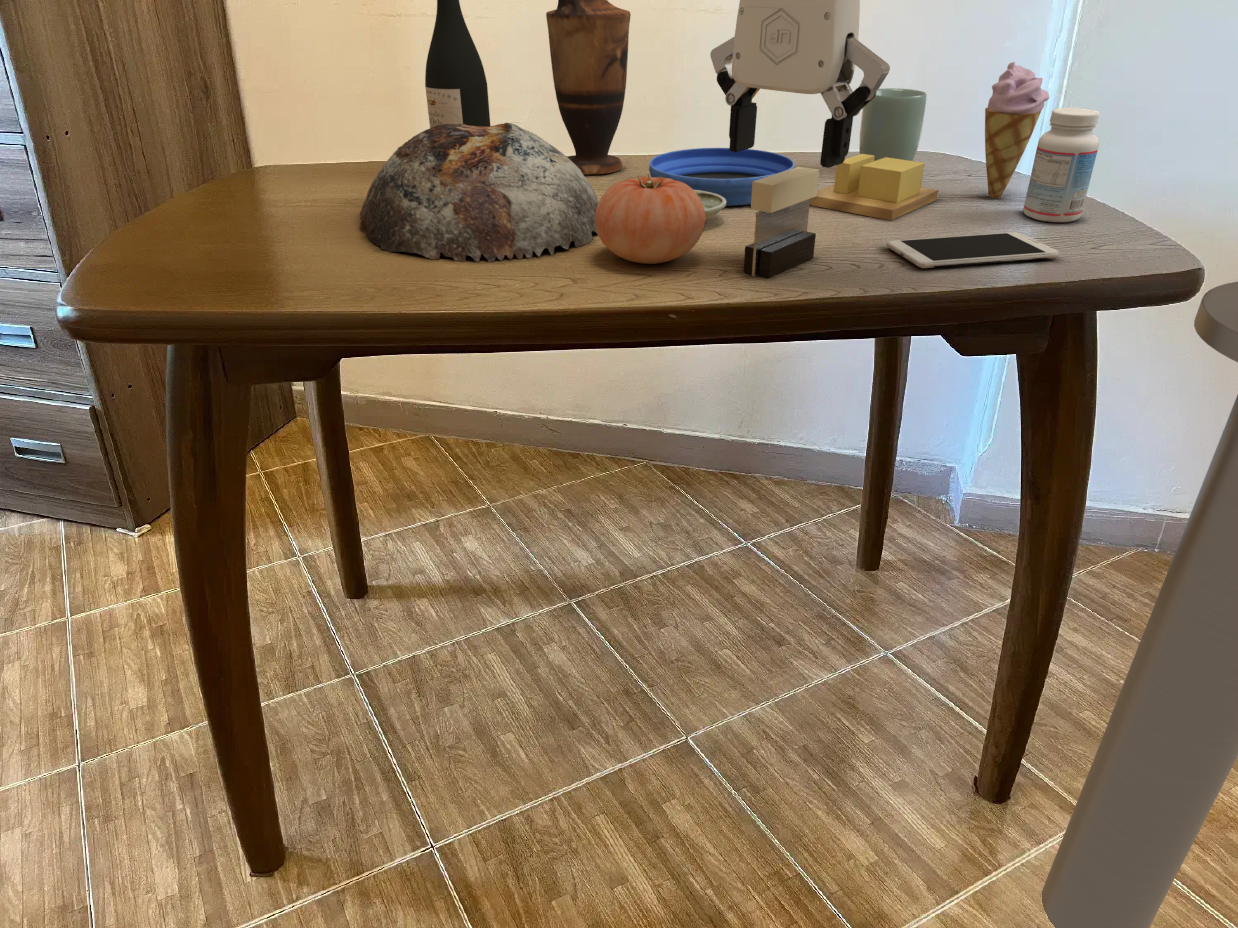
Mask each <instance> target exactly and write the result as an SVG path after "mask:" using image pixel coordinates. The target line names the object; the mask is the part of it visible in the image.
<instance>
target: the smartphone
mask: <svg viewBox="0 0 1238 928" xmlns="http://www.w3.org/2000/svg"><path fill="white" fill-rule="evenodd" d="M886 247H887V248H889V249H890V250H891V251H894V252H895V253H896V254H898V255H899V256H901V257H903V258H904V259H906V260H907V261H909V262H911V263H912V264H914V265H915V266H916V267H918V268H920V269H933V268H946V267H959V266H960V267H961V266H971V265H985V264H998V263H1011V262H1012V263H1013V262H1023V261H1024V262H1025V261H1037V260H1038V261H1039V260H1050V259H1051V260H1052V259H1057V258H1058V257H1059V256H1060V252H1059V250H1057V249H1055V248H1054V247H1053V248H1052V247H1050V246H1048V245H1046V244H1044V243H1042V242H1040V241H1038V240H1035V239H1034V238H1031V237H1030V236H1027V235H1025V234H1023V233H1021V232H1016V231H1013V232H1011V231H1009V232H998V233H985V234H984V233H983V234H982V233H981V234H970V235H969V234H968V235H956V236H944V237H943V236H940V237H926V238H913V239H911V238H910V239H899V240H898V239H897V240H889V241H887V243H886Z"/></svg>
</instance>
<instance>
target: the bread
mask: <svg viewBox="0 0 1238 928" xmlns="http://www.w3.org/2000/svg"><path fill="white" fill-rule="evenodd" d="M568 157H569V156H567V155H565V154H564V153H563V151H561V150H559V149H558V148H557V147H555V146H554V145H552V144H550V143H549V142H548V141H546V140H545V139H544V138H542V137H540V136H539V135H537V134H536V133H534V132H531V131H529V130H527V129H524V128H522V127H521V126H519V125H517V124H514V123H512V122H504V123H497V124H494V125H490V126H489V127H479V126H468V125H466V124H443V125H437V126H434V127H432V128H430V127H429V128H427V129H425V130H423V131H421V132H419V133H417V134H416V135H414V136H412V137H411V138H410V139H408V140H407V141H405V142H404V143H403V144H402V145H399V146H398V147H397V149H396V150H394V151H393V153H392V154H391V156H389V158H388V159H387V160H386V161H385V162H384V163H383V164H382V166H381V168H380V169H379V170H378V173H376V176H375V177H374V179H373V180H372V182H371V185H370V186H369V188H368V191H367V192H366V193H367V194H366V197H365V198H364V201H363V202H362V206H361V209H360V212H359V216H360V217H359V219H360V221H361V222H362V223H363V224H364V225H365V229H366V236H367V238H369V239H370V241H371V243H373V244H375V245H376V246H377V247H378V246H380V249H381V250H384V251H387V252H390V253H393V252H394V253H395V252H401V253H402V252H403V253H408V254H417V255H421V256H423V257H425V258H427V259H430V260H439V259H440V257H441V253H442V254H443V255H444V257H446V258H451V259H453V260H454V261H455V262H457V261H459V262H460V261H461V262H466V261H467V260H466V259H467V258H466V257H467V256H469V257H471V258H472V259H473V261H474V262H477V263H478V262H480V260H481V257H482V256H483V257H484V258H485V259H486V260H487V262H488V263H491V262H495V261H496V258H497V259H498V260H499V261H500V262H503V261H504V258H505V257H507V258H508V259H509V261H512V260H513V257H514V255H515V257H516V259H518V260H523V257H524V255H525V257H526V258H527V259H531V258H533V253H535V254H536V256H537V257H539V258H540V257H541V255H542V252H543V251H544V249H547V250H548V252H549V254H550V255H554V253H555V248H556V247H559V246H561V247H562V248H563V249H564V250H565V249H566V250H568V249H569V248H570V245H571V242H574V247H575V248H578V247H582V246H584V245H587V244H590V243H591V242H592V241H593V240H594V238H593V234H592V233H593V232H595V233H596V234H597V235H598V233H597V230H596V225H595V213H596V208H597V205H598V203H599V200H598V196H597V194H596V192H595V190H594V188H593V186H592V184H591V182H590V181H589V180H588V179H587V178H586V176H585V175H583V173H582V172H581V170H580V169H579V168H578V167H577V166H576V165H575V164H574V163H573V162H572V161H571V160H570V159H569V158H568Z"/></svg>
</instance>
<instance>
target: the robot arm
mask: <svg viewBox="0 0 1238 928" xmlns="http://www.w3.org/2000/svg"><path fill="white" fill-rule="evenodd" d="M860 11H861V0H739V4H738V10H737V16H736V21H735V22H736V23H735V31H734V36H732V37H731V38H730V39H728V40H726V41H724V42H723V43H720V44H719V45H718V46H716V47H714V48H713V49H712V50H711V51H710V55H709V56H710V59H711V62H712V66H713V69H714V72H715V73H716V83H717V85H718V87H720V89H721V91H722V92H723V94H724V95H725V98H724V101H725V103H726V104H727V106H730V113H729V114H730V115H729V127H728V129H729V130H728V138H729V147H728V148H730V151H732V152H738V151H742V150H746V149H752V148H753V147H754V146H755V141H756V140H755V139H756V126H757V115H758V106H757V102H753V99H754V98H755V96H756V95H757V94H758V93H759V91H760V90H769V91H775V92H786V93H793V94H803V95H817V94H820V95H821V97H822V99H823V101H824V103H825V104H826V106H827V108H828V110H829V112H830V113H831V117H830V118H826V120H825V121H824V126H823V135H822V143H821V144H822V145H821V152H820V159H819V160H820V161H819V164H820V166H821V167H822V168H825V169H829V168H832V167H835V166H836V167H837V165H839V164H842V163H843V162H844V160H845V159H846V157H848V154H849V151H850V145H851V139H852V138H851V137H852V130H853V123H854V117H856V116H858V115H859V114H860V113H861V111H862V109H863V107H865V106H866V105H867V104H868V103H869V102H870V101H871V100H872V99H873V98H874V97H875V95H876V91H877V90H878V89H881V86H882V84H883V83H884V82H885V79H886V78H887V77H888V74H889V73H890V71H891V67H890V64H889V63H888V62H887V61H886V60H884V59H883V58H882V57H880V56H879V55H878V54H876V53H875V52H874V51H872V50H871V49H869V47H867V46H866V45H865V44H863V43H862V42H861V41H859V35H860V34H859V33H860V15H861V13H860ZM856 67H857V68H859V69H860V71H862V72H863V78H862V80H861V82H860V84H859V86H857V88H855V89H854V90H853V89H852V87H851V85H850V84H851V83H852V80H853V78H854V74H855V69H856Z"/></svg>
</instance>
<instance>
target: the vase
mask: <svg viewBox="0 0 1238 928" xmlns="http://www.w3.org/2000/svg"><path fill="white" fill-rule="evenodd" d="M631 14H632V13H631V11H629V10H627V9H624V8H620V7H617V6H616V5H614V4H613V3H611V2H610V1H609V0H557V6H556V9H553V10H549V11H546V12H545V19H546V24H547V34H548V43H549V53H550V55H549V56H550V62H551V72H552V80H553V87H554V91H555V97H556V98H555V99H556V102H557V106H558V110H559V114H560V116H561V120H562V121H563V124H564V127H565V129H566V131H567V133H568V137H569V139H570V140H571V143H572V145H573V149H574V152H575V155H570V156H567V157H568V158H569V159H570V160H571V161H572V162H573V163H574V164H575V165H576V166H577V167H578V168H579V169H580V170H581V172H582V173H583V175H584V176H585V175H586V176H587V175H604V174H605V175H606V174H611V173H615V172H618V171H619V170H622V167H623V164H622V160H621V158H620V157H617V156H615V155H611V154H609V151H610V149H611V146H612V143H613V139H614V137H615V135H616V132H617V130H618V127H619V123H620V121H621V118H622V114H623V111H624V102H625V96H626V89H627V79H628V78H627V76H628V56H629V40H630V39H629V34H630V23H631Z"/></svg>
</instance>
